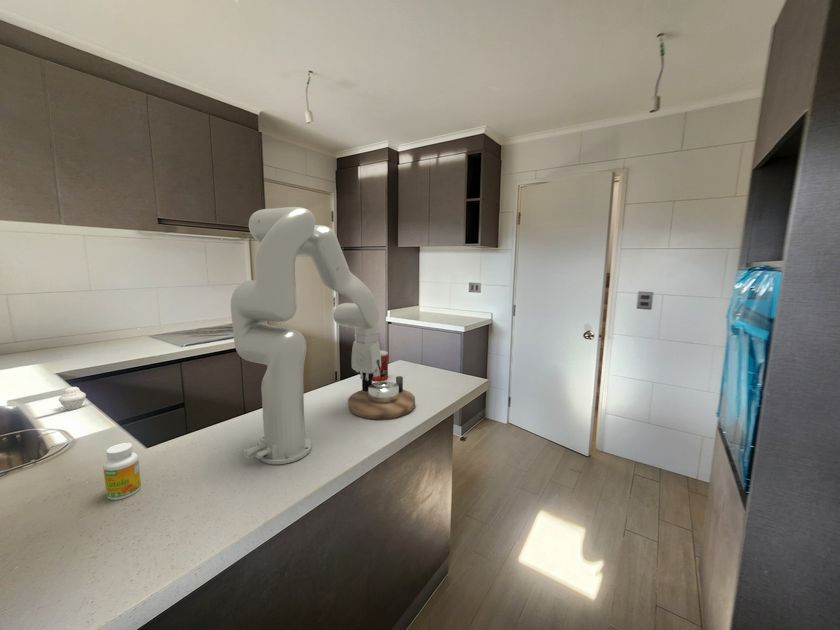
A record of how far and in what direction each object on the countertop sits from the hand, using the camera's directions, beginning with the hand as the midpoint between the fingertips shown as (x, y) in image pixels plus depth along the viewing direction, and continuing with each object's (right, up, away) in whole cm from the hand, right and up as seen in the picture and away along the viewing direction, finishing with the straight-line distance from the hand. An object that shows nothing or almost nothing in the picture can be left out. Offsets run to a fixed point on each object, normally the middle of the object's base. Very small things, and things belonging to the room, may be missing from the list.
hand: (367, 390), depth 121 cm
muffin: (-92, -4, -9) cm, 93 cm away
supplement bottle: (-42, -11, -49) cm, 66 cm away
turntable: (+6, -4, -4) cm, 8 cm away
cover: (+6, -2, -4) cm, 7 cm away
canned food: (+1, -1, +24) cm, 24 cm away
